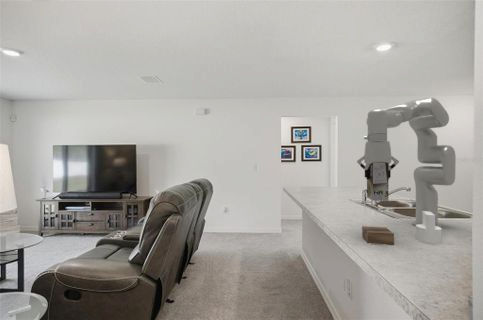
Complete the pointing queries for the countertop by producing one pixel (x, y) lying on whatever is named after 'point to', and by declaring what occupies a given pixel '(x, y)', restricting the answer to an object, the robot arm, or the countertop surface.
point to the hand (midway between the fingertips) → (377, 179)
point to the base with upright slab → (428, 229)
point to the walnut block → (378, 235)
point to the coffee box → (378, 181)
